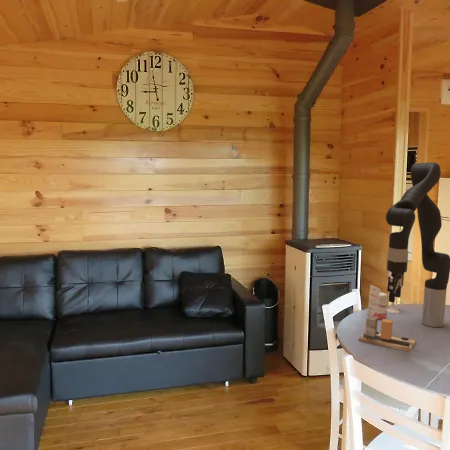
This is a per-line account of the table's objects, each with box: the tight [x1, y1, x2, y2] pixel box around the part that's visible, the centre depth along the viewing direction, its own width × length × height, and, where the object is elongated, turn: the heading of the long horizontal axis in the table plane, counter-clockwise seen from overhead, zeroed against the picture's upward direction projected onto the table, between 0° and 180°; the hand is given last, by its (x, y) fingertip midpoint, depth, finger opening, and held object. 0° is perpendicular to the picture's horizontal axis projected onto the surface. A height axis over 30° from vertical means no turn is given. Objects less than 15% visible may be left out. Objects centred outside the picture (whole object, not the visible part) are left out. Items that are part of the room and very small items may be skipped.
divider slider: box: [380, 318, 394, 340], centre depth 197 cm, size 9×4×8 cm, turn 149°
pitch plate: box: [358, 315, 417, 353], centre depth 198 cm, size 12×20×10 cm, turn 58°
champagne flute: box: [386, 271, 400, 314], centre depth 239 cm, size 7×7×24 cm
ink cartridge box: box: [367, 284, 389, 320], centre depth 230 cm, size 9×5×15 cm, turn 17°
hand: (394, 299), depth 191 cm, fingers open, 8 cm apart
